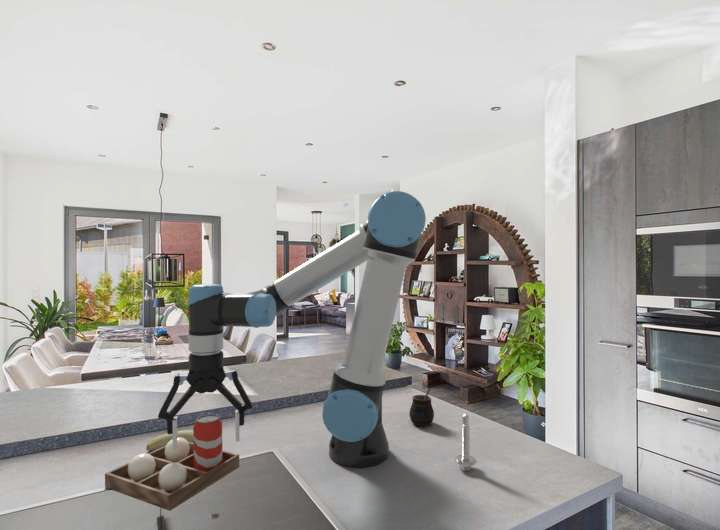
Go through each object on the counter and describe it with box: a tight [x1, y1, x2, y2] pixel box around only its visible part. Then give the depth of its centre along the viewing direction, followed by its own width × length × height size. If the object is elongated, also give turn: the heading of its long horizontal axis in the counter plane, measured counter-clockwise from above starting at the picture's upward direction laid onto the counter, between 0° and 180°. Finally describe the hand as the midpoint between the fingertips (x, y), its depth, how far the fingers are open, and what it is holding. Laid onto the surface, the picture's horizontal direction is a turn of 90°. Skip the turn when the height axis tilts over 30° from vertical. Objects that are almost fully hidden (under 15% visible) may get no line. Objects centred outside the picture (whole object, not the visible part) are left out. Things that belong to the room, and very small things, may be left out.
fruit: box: [145, 429, 194, 452], centre depth 116 cm, size 7×15×3 cm, turn 101°
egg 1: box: [128, 452, 156, 481], centre depth 97 cm, size 6×6×6 cm
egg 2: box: [165, 437, 190, 462], centre depth 106 cm, size 6×6×6 cm
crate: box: [104, 442, 240, 512], centre depth 99 cm, size 20×20×3 cm
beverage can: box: [192, 413, 224, 472], centre depth 102 cm, size 6×6×12 cm
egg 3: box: [158, 462, 187, 492], centre depth 93 cm, size 6×6×6 cm
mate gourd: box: [409, 387, 435, 428], centre depth 131 cm, size 7×8×10 cm
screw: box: [454, 413, 477, 472], centre depth 103 cm, size 13×5×5 cm
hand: (206, 443), depth 101 cm, fingers open, 13 cm apart
